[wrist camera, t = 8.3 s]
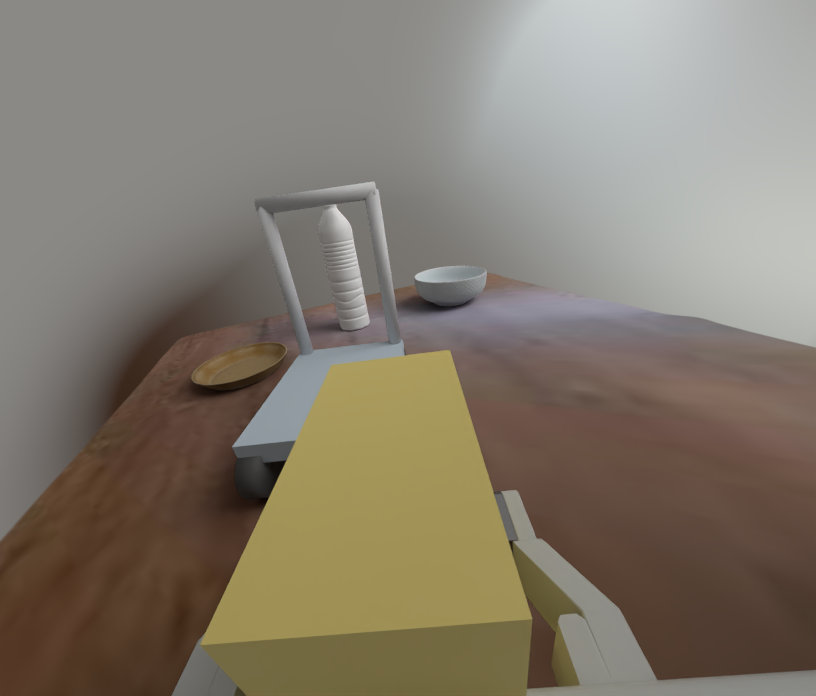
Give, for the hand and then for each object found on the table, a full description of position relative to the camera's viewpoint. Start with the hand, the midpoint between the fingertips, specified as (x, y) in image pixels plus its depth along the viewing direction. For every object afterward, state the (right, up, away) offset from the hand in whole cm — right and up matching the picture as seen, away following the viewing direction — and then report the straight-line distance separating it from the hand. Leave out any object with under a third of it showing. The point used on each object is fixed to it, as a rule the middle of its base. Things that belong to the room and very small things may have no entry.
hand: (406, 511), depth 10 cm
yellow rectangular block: (+1, -5, +2) cm, 6 cm away
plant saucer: (-28, +1, +41) cm, 50 cm away
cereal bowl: (+11, +17, +63) cm, 66 cm away
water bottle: (-11, +10, +55) cm, 57 cm away
